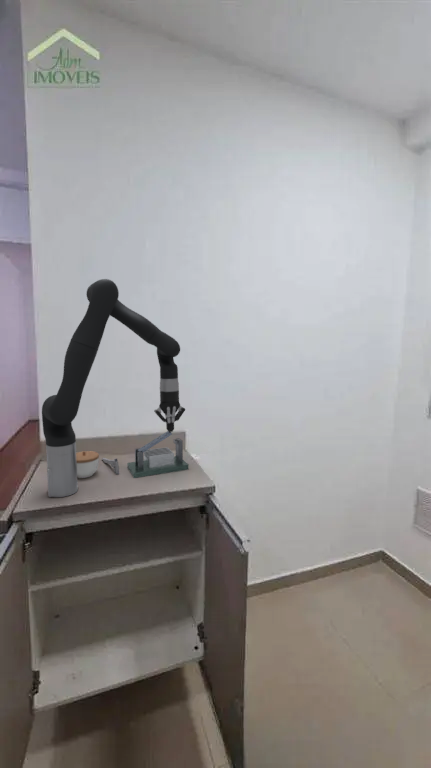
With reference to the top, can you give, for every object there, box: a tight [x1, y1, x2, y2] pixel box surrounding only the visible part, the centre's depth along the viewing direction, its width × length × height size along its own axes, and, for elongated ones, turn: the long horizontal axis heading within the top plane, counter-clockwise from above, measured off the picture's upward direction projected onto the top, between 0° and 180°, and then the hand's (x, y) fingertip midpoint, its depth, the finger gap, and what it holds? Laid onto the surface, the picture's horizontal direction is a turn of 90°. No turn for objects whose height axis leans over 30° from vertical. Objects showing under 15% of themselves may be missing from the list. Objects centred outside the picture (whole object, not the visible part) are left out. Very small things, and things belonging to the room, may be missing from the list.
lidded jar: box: [76, 450, 100, 479], centre depth 134 cm, size 11×11×9 cm
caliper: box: [101, 457, 120, 475], centre depth 143 cm, size 20×1×6 cm, turn 34°
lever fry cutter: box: [127, 437, 189, 479], centre depth 141 cm, size 22×12×11 cm, turn 115°
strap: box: [138, 430, 173, 453], centre depth 140 cm, size 14×3×1 cm, turn 115°
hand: (170, 431), depth 142 cm, fingers closed
